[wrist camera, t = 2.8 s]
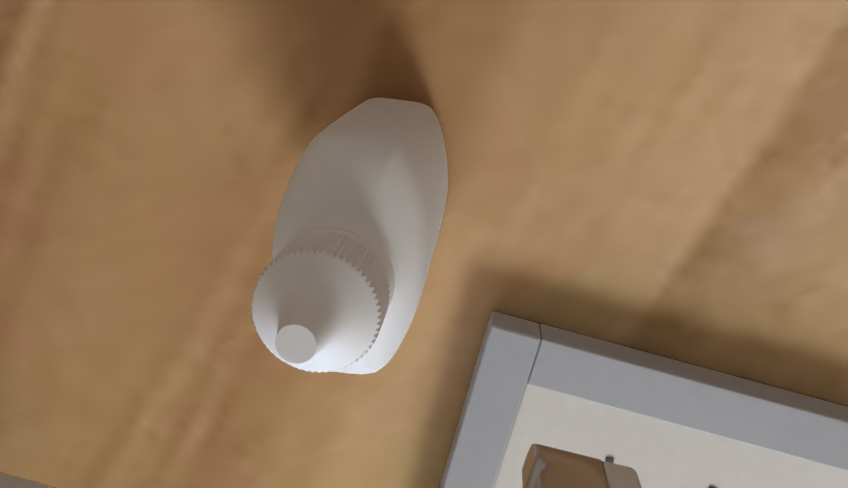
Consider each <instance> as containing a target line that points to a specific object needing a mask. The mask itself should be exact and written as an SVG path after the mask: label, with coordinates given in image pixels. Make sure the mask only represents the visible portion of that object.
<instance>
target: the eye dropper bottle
mask: <svg viewBox="0 0 848 488" xmlns="http://www.w3.org/2000/svg"><path fill="white" fill-rule="evenodd" d="M447 189H448V166H447V156H446V149H445V144H444V139H443V134H442V131H441V127H440V124H439V121H438V118H437V116H436V114H435V113H434V111H433V110H432V109H431V107H430V106H427V105H425V104H423V103H420V102H413V101H406V100H398V99H389V98H373V99H368V100H366V101H364V102H363V103H361V104H360V105H358V106H357V107H355V108H354V109H352V110H350V111H349V112H347V113H346V114H345V115H343V116H342V117H340V118H339V119H337V120H336V121H334V122H333V123H331V124H330V125H329V126H328V127H326V128H325V129H324V130H323V131H321V132H320V133H319V134H318V135H317V136H315V137H314V138H313V139H312V140H311V142H310V143H309V145H308V146H307V148H306V149H305V151H304V152H303V154H302V156H301V157H300V159H299V161H298V163H297V165H296V167H295V169H294V171H293V173H292V175H291V178H290V180H289V182H288V185H287V188H286V190H285V193H284V195H283V199H282V202H281V205H280V208H279V212H278V216H277V221H276V226H275V232H274V238H273V248H272V261H271V262H270V263H269V264H268V265H267V266H266V268H265V269H264V271H263V272H262V273H261V274H260V277H259V278H258V279H257V283H256V284H255V286H254V287H255V290H254V291H253V292H252V293H253V297H252V298H251V299H252V302H253V303H252V304H251V307H252V310H251V312H252V314H253V317H252V319H253V320H254V325H255V327H256V331H257V332H258V333H259V337H260V338H261V339H262V342H263V343H264V344H266V347H267V348H268V349H270V351H271V353H274V354H275V356H276V357H278V358H280V359H281V361H284V362H286V363H287V364H289V365H292V366H293V367H297V368H298V369H300V370H301V369H303V370H305V371H311V372H315V371H316V372H319V373H320V372H321V371H322V372H325V373H327V371H331V372H333V371H335V372H342V373H351V374H368V373H374V372H376V371H378V370H379V369H381V368H382V367H384V366H385V365H386V364H387V363H388V362H389V360H390V359H391V358H392V357H393V355H394V354H395V352H396V351H397V349H398V347H399V346H400V344H401V342H402V341H403V339H404V337H405V335H406V333H407V331H408V329H409V327H410V324H411V322H412V320H413V317H414V315H415V312H416V309H417V307H418V304H419V301H420V297H421V294H422V291H423V287H424V284H425V281H426V277H427V274H428V270H429V267H430V263H431V260H432V256H433V253H434V249H435V246H436V242H437V239H438V235H439V232H440V228H441V225H442V221H443V217H444V212H445V206H446V200H447Z"/></svg>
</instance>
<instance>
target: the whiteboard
mask: <svg viewBox="0 0 848 488" xmlns="http://www.w3.org/2000/svg"><path fill="white" fill-rule="evenodd" d="M532 444H540V445H544V446H548V447H552V448H556V449H560V450H564V451H568V452H572V453H576V454H580V455H584V456H588V457H592V458H596V459H600V460H602V461H605V462H609V463H614V464H618V465H623V466H627V467H632V468H633V469H634V470H636V472H637V475H638V478H639V481H640V484H641V487H642V488H848V407H847V406H843V405H840V404H836V403H832V402H829V401H825V400H821V399H817V398H814V397H810V396H806V395H803V394H799V393H795V392H792V391H788V390H784V389H781V388H777V387H773V386H769V385H766V384H762V383H758V382H755V381H751V380H747V379H744V378H740V377H736V376H733V375H729V374H725V373H721V372H718V371H714V370H710V369H707V368H703V367H699V366H696V365H692V364H688V363H685V362H681V361H677V360H674V359H670V358H666V357H662V356H659V355H655V354H651V353H648V352H644V351H640V350H637V349H633V348H629V347H626V346H622V345H618V344H614V343H611V342H607V341H603V340H600V339H596V338H592V337H589V336H585V335H581V334H578V333H574V332H570V331H566V330H563V329H559V328H555V327H552V326H548V325H544V324H540V326H539V324H538V323H536V322H532V321H528V320H525V319H521V318H517V317H514V316H510V315H506V314H502V313H499V312H495V311H492V312H491V314H490V318H489V321H488V324H487V328H486V331H485V334H484V338H483V341H482V344H481V348H480V351H479V354H478V358H477V361H476V364H475V368H474V371H473V375H472V378H471V381H470V385H469V388H468V391H467V395H466V398H465V401H464V405H463V408H462V411H461V415H460V418H459V421H458V425H457V428H456V432H455V435H454V438H453V442H452V445H451V448H450V452H449V455H448V458H447V462H446V465H445V468H444V472H443V475H442V478H441V482H440V485H439V488H523V484H522V468H523V465H524V462H525V459H526V456H527V453H528V451H529V449H530V447H531V445H532Z"/></svg>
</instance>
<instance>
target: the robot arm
mask: <svg viewBox="0 0 848 488" xmlns="http://www.w3.org/2000/svg"><path fill="white" fill-rule="evenodd" d="M522 484H523V488H642V487H641V484H640V481H639V478H638V475H637V472H636V470H634V469H633V468H632V467H627V466H623V465H618V464H614V463H609V462H605V461H602V460H600V459H596V458H592V457H588V456H584V455H580V454H576V453H572V452H568V451H564V450H560V449H556V448H552V447H548V446H544V445H540V444H532V445H531V447H530V449H529V451H528V453H527V456H526V459H525V462H524V465H523V468H522ZM0 488H56V487H52V486H49V485H45V484H41V483H38V482H34V481H31V480H27V479H23V478H20V477H16V476H13V475H9V474H5V473H2V472H0Z"/></svg>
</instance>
